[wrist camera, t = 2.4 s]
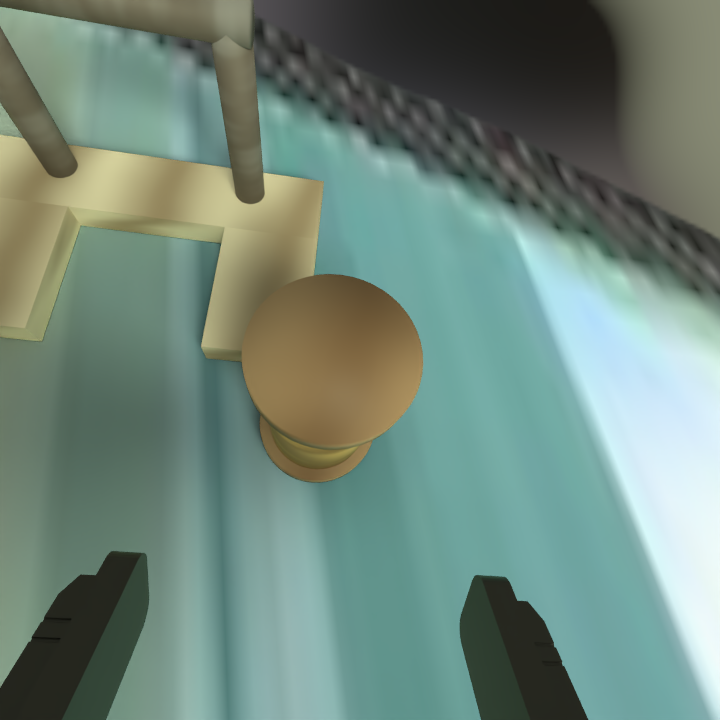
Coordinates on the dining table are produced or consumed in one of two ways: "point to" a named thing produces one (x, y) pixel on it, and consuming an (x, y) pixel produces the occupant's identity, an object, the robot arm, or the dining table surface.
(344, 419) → the wooden knob
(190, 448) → the dining table surface
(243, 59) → the u-shaped handle base
